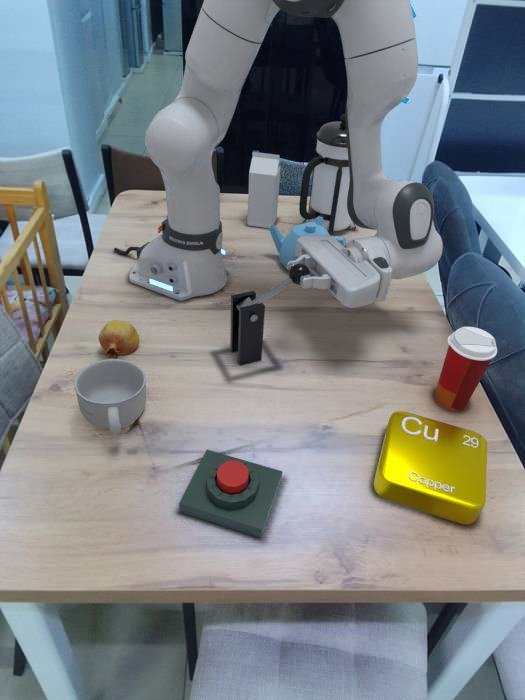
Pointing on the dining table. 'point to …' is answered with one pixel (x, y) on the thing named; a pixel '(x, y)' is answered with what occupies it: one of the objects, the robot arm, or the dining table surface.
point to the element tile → (433, 467)
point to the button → (232, 477)
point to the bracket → (246, 329)
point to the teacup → (111, 393)
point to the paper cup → (464, 366)
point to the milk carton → (263, 189)
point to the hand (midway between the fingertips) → (295, 275)
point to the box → (231, 495)
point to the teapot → (288, 244)
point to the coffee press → (328, 179)
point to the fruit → (118, 338)
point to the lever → (279, 285)
